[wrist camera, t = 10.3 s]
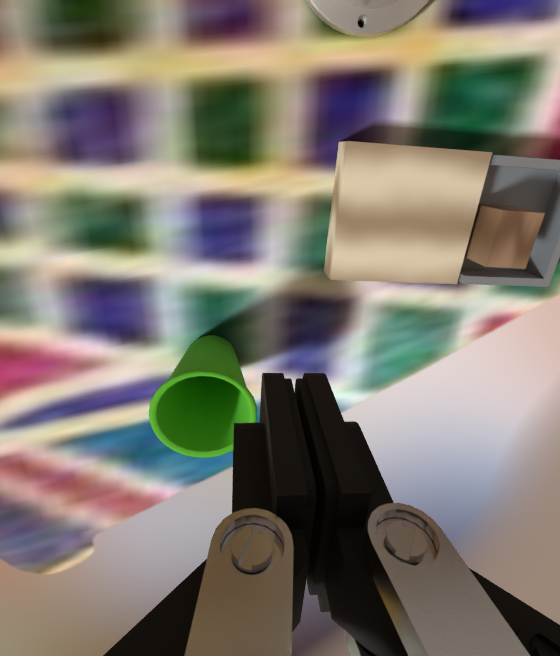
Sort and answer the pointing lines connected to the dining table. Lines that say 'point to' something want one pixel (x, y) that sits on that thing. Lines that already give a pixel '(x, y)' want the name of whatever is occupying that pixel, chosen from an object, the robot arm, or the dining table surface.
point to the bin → (531, 194)
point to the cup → (203, 400)
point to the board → (402, 212)
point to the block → (503, 236)
